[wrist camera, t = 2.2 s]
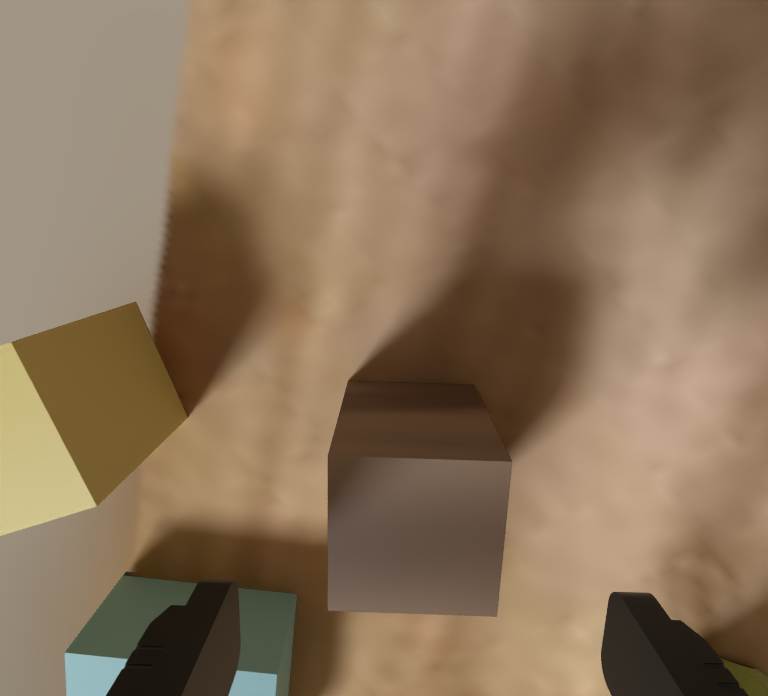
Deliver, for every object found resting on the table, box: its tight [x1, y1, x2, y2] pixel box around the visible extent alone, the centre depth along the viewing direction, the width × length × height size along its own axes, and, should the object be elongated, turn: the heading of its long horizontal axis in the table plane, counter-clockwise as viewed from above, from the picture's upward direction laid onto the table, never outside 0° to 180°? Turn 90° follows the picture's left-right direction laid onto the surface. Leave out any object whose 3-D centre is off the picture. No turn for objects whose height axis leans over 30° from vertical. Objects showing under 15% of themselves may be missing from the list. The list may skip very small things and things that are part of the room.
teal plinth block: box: [65, 571, 297, 696], centre depth 20 cm, size 7×7×4 cm
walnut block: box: [328, 381, 512, 617], centre depth 16 cm, size 4×4×6 cm
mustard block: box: [0, 302, 188, 536], centre depth 16 cm, size 4×4×6 cm
